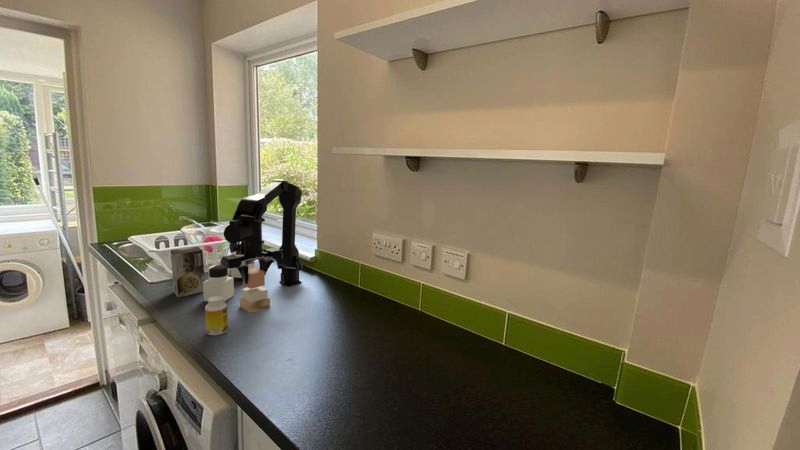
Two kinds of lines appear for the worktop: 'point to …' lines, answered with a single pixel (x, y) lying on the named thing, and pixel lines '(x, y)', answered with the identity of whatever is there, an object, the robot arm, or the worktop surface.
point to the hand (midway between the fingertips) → (253, 282)
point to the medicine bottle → (218, 283)
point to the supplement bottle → (216, 316)
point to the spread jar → (235, 271)
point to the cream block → (254, 294)
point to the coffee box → (187, 271)
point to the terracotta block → (255, 278)
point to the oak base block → (254, 304)
